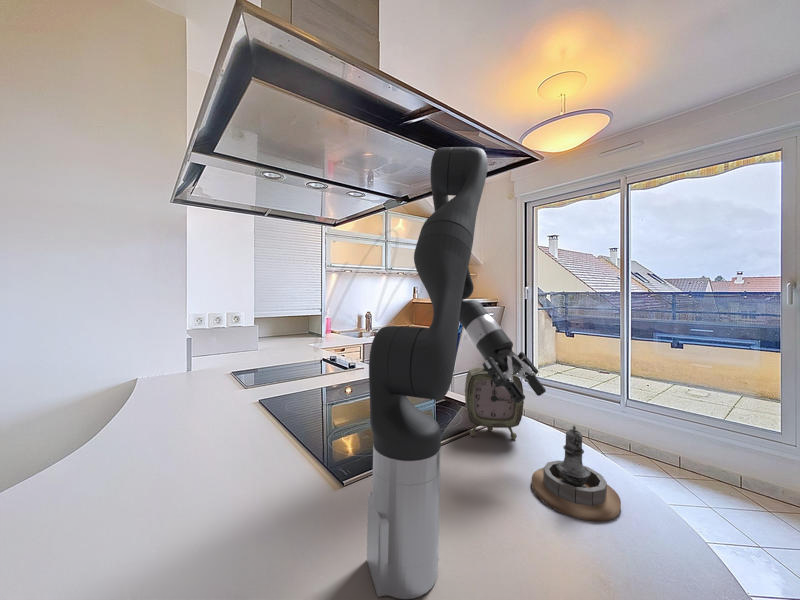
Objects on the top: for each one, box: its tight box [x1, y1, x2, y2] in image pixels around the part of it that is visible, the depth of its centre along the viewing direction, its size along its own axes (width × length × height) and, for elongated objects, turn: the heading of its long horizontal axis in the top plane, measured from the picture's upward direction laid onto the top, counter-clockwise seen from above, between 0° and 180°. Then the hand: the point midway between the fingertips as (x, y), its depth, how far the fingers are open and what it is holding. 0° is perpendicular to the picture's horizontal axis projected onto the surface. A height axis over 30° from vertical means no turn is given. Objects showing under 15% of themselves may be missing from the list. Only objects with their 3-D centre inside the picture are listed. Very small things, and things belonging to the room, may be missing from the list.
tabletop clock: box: [464, 365, 525, 440], centre depth 88 cm, size 14×9×25 cm, turn 83°
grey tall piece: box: [556, 425, 591, 488], centre depth 62 cm, size 6×6×12 cm
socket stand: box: [531, 460, 622, 522], centre depth 62 cm, size 15×15×4 cm
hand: (532, 397), depth 68 cm, fingers open, 8 cm apart
